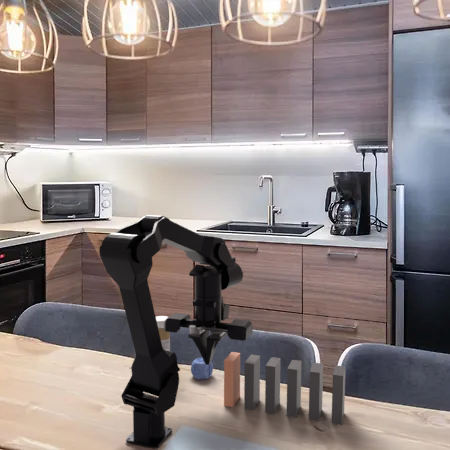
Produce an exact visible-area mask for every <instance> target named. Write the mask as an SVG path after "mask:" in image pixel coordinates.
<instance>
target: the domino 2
mask: <svg viewBox="0 0 450 450" xmlns="http://www.w3.org/2000/svg"><path fill="white" fill-rule="evenodd" d="M243 382H244V387H243V389H244V390H243V391H244V393H243V395H244V398H243V399H244V400H243V404H244V407H243V409H244V410H248V409H249V411H254V410H255V408H257V406H258V403H260V398H261V394H260V393H261V391H260V389H261V387H260V386H261V383H260V382H261V355H258V354H257V355H256V354H250V355H249V357H248V358H247V359H246V360H245V362H244V381H243Z"/></svg>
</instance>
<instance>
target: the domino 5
mask: <svg viewBox="0 0 450 450" xmlns="http://www.w3.org/2000/svg"><path fill="white" fill-rule="evenodd" d="M323 386H324V363H320V362H313V363H312V365H311V368H310V371H309V386H308V387H309V390H308V420H309V421H315V422H320V418H321V415H322V412H323V392H324V391H323V390H324V389H323Z"/></svg>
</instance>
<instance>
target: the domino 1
mask: <svg viewBox="0 0 450 450" xmlns="http://www.w3.org/2000/svg"><path fill="white" fill-rule="evenodd" d="M223 365H224V366H223V406H225V407H231V408H233V407H234V406H235V404H236V403H237V402H238V400H239V399H240V397H241V352H235V351H231V352H230V353H229V354H228V355H227V357H225V358H224V360H223Z"/></svg>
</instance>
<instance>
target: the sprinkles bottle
mask: <svg viewBox="0 0 450 450" xmlns="http://www.w3.org/2000/svg"><path fill="white" fill-rule="evenodd" d="M155 317H156V321H157V325H158V330H159V334H160V339H161V343H162V347H163V349H164V350H167V351H171V337H170V335H171V334H170V333H171V332H166V331H164V322H165V320H166V319H167V318H168V317H169V316H166V315H158V316H155Z"/></svg>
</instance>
